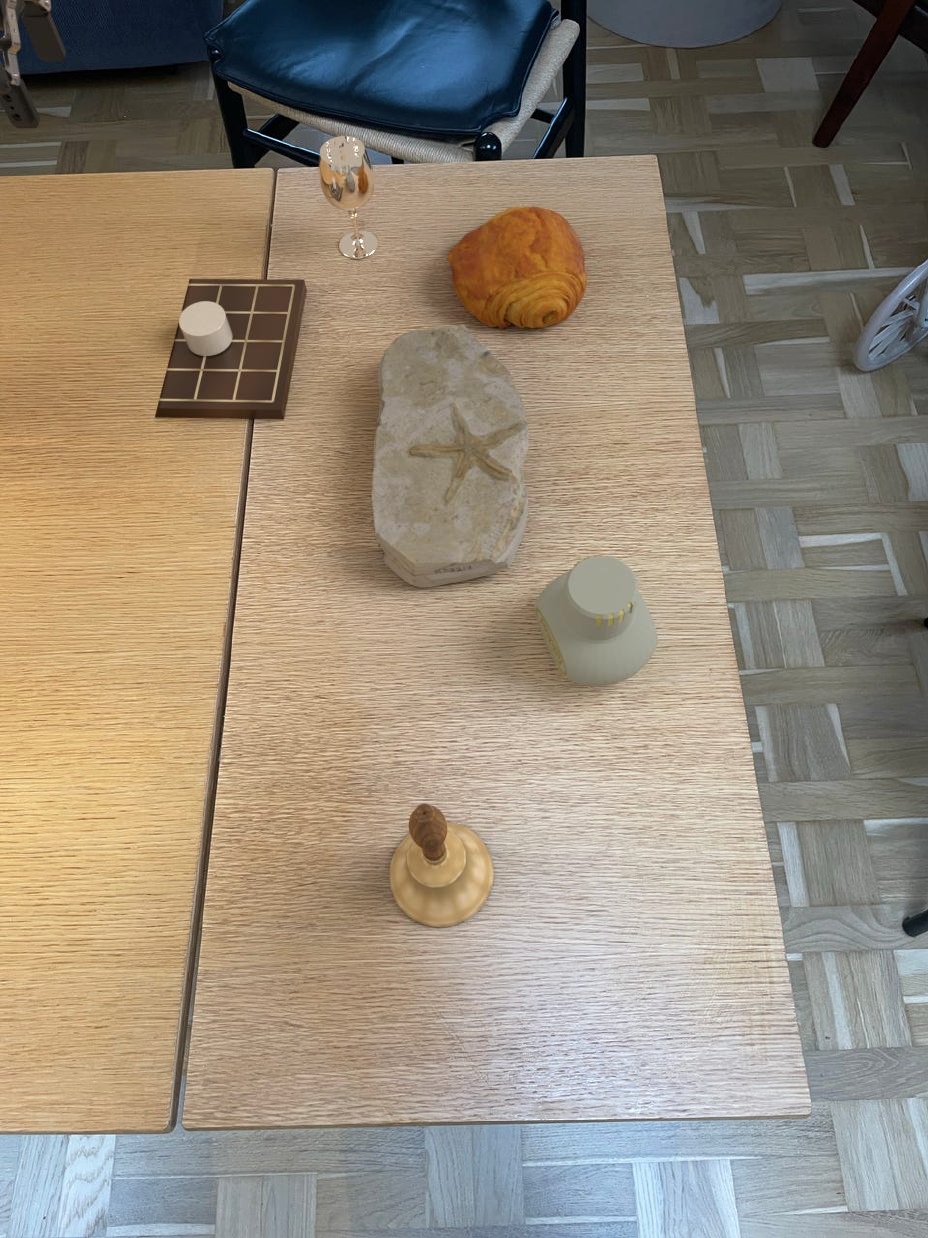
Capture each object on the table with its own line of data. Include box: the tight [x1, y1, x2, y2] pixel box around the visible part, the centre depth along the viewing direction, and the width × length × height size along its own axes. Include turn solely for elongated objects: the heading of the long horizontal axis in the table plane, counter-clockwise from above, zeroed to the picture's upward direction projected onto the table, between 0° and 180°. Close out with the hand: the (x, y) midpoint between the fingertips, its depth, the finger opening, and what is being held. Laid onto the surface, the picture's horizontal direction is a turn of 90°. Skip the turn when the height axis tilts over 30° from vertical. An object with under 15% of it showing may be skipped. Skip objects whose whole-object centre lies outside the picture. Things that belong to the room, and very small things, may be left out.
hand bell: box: [388, 802, 495, 928], centre depth 71 cm, size 8×8×16 cm
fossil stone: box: [370, 323, 530, 589], centre depth 94 cm, size 28×15×5 cm, turn 0°
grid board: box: [154, 278, 308, 420], centre depth 104 cm, size 18×18×2 cm
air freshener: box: [533, 554, 659, 687], centre depth 82 cm, size 11×8×10 cm
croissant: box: [446, 205, 588, 330], centre depth 104 cm, size 14×16×8 cm
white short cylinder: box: [178, 301, 233, 356], centre depth 102 cm, size 5×5×3 cm
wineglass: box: [318, 135, 379, 260], centre depth 105 cm, size 6×6×12 cm
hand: (41, 91), depth 81 cm, fingers open, 8 cm apart
